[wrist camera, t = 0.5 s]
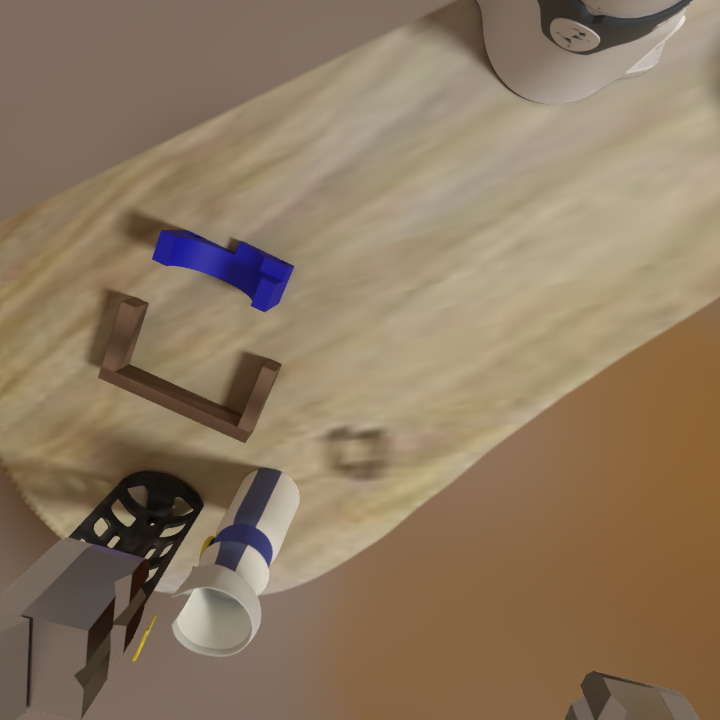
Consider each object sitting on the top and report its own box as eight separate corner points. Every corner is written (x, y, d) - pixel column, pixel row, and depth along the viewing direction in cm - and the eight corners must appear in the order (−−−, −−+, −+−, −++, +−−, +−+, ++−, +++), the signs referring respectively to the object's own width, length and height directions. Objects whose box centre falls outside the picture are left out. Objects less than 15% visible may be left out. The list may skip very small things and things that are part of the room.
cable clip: (294, 266, 50) (281, 270, 44) (279, 303, 51) (264, 312, 45) (192, 217, 49) (166, 215, 43) (179, 255, 50) (152, 259, 45)
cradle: (136, 297, 52) (121, 301, 49) (281, 364, 53) (275, 372, 50) (113, 369, 54) (98, 377, 51) (252, 432, 55) (245, 443, 52)
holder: (207, 480, 57) (111, 623, 39) (205, 527, 60) (114, 681, 41) (122, 463, 58) (-14, 597, 39) (124, 511, 60) (-2, 656, 42)
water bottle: (235, 522, 59) (127, 722, 35) (236, 463, 57) (120, 634, 33) (298, 530, 59) (232, 737, 35) (302, 470, 56) (234, 649, 32)
